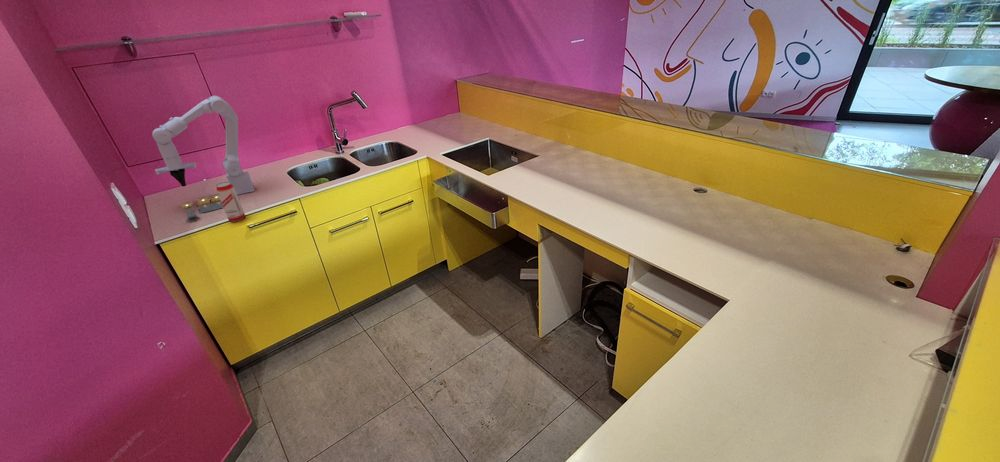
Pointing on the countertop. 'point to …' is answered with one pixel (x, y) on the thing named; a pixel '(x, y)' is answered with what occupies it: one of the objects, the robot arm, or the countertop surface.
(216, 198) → the fixed leaf
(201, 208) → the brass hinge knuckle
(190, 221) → the pad
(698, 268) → the countertop surface
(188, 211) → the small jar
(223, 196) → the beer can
